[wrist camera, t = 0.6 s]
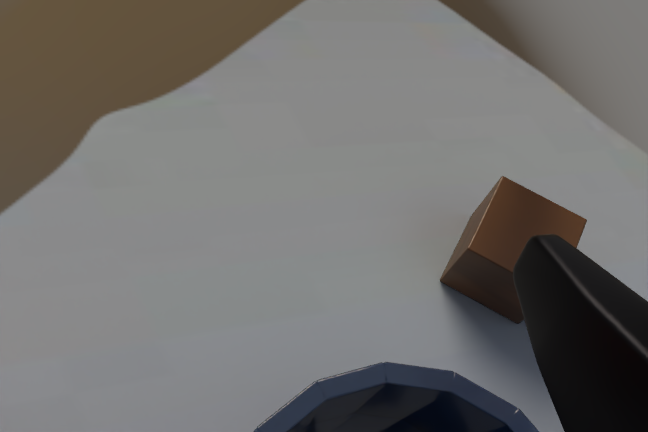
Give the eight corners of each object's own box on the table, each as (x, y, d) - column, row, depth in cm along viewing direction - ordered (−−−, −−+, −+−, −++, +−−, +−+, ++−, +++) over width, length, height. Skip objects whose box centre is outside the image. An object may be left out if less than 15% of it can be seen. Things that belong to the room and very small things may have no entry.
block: (546, 254, 31) (587, 219, 27) (517, 324, 29) (558, 297, 25) (471, 215, 31) (502, 175, 28) (439, 281, 30) (467, 248, 26)
